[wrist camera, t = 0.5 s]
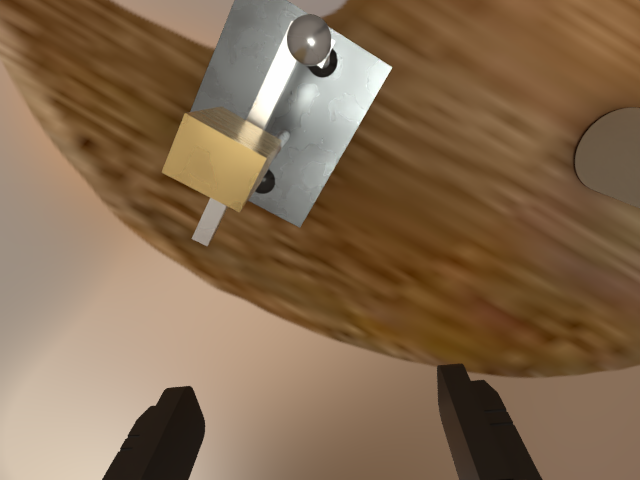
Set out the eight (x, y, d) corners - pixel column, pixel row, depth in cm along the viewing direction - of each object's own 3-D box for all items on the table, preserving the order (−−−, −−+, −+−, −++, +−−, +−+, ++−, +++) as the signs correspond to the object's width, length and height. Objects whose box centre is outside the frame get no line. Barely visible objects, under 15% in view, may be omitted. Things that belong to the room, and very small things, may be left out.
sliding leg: (257, 99, 33) (184, 113, 16) (297, 122, 33) (266, 158, 17) (243, 130, 34) (161, 172, 17) (282, 152, 34) (239, 212, 18)
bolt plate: (248, -22, 31) (189, -103, 18) (389, 68, 33) (429, 56, 20) (175, 161, 37) (89, 203, 24) (298, 226, 39) (283, 297, 26)
